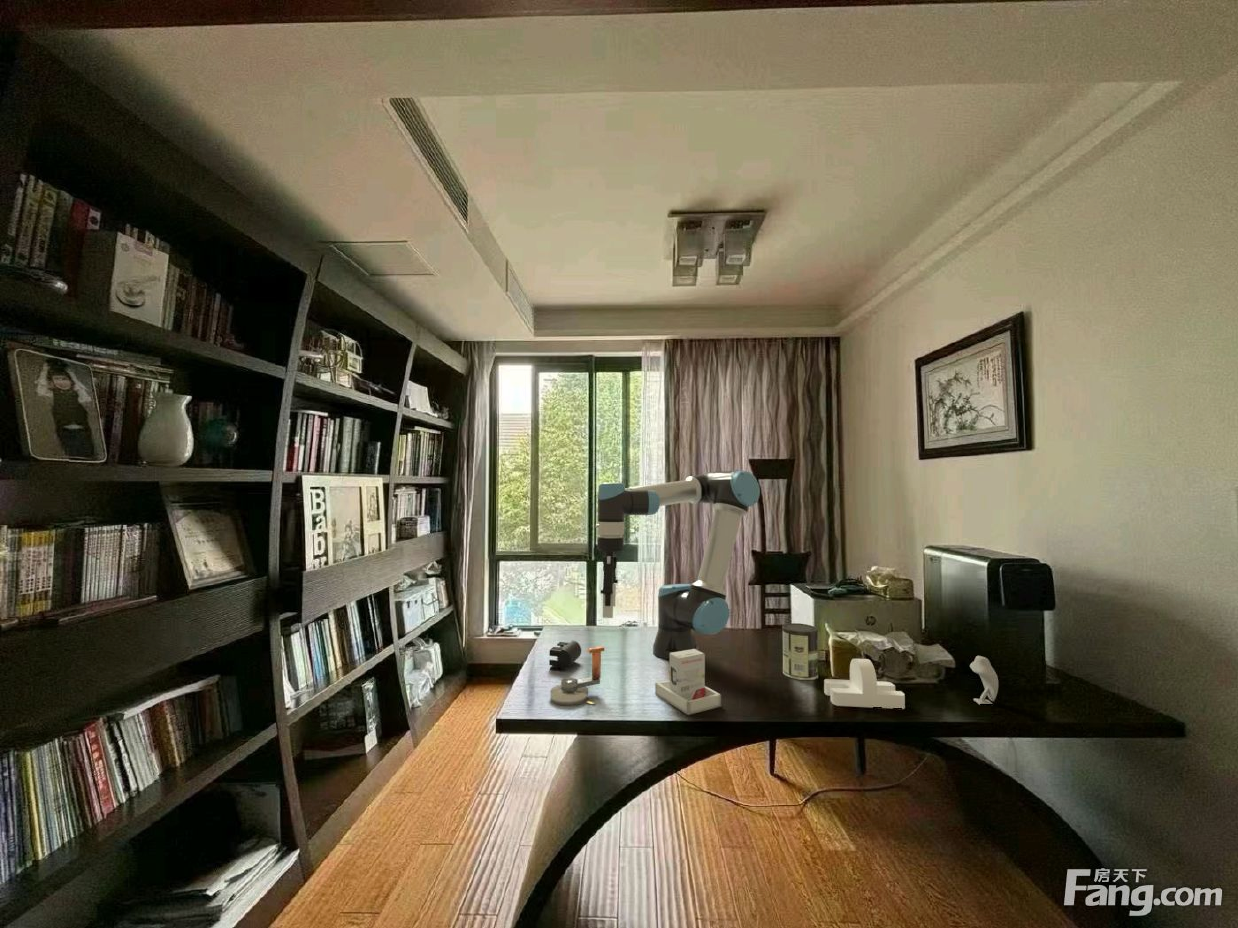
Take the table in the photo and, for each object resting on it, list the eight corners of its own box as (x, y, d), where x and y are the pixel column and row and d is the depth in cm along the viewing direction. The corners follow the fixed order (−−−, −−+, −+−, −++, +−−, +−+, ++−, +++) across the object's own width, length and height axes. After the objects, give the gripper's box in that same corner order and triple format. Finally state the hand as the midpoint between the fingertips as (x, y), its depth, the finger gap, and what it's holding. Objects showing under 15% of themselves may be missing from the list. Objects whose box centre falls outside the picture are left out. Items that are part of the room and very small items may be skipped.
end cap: (570, 673, 155) (570, 650, 156) (548, 670, 157) (548, 648, 158) (581, 662, 165) (581, 640, 165) (560, 660, 167) (561, 638, 167)
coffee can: (809, 667, 161) (808, 622, 162) (824, 680, 151) (824, 631, 152) (777, 668, 161) (777, 622, 161) (790, 680, 151) (790, 632, 151)
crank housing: (578, 688, 143) (578, 680, 144) (598, 704, 133) (598, 696, 133) (544, 694, 139) (544, 687, 139) (562, 712, 128) (562, 704, 128)
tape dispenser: (906, 709, 132) (905, 667, 132) (834, 706, 134) (833, 664, 134) (890, 695, 141) (890, 655, 142) (823, 691, 143) (822, 652, 144)
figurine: (1004, 709, 132) (1003, 662, 133) (981, 707, 133) (980, 660, 134) (988, 697, 140) (987, 652, 140) (966, 696, 140) (965, 651, 141)
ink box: (694, 691, 140) (694, 647, 141) (706, 698, 136) (706, 653, 136) (667, 697, 136) (668, 652, 137) (678, 704, 132) (678, 657, 132)
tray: (686, 686, 145) (686, 676, 145) (721, 706, 132) (721, 694, 133) (655, 694, 140) (655, 682, 140) (688, 714, 127) (688, 702, 127)
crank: (565, 692, 134) (565, 655, 134) (558, 687, 138) (559, 651, 138) (607, 684, 140) (607, 648, 140) (599, 678, 144) (599, 644, 144)
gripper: (600, 532, 159) (599, 601, 158) (593, 540, 135) (591, 622, 134) (625, 532, 159) (624, 602, 158) (621, 541, 134) (620, 623, 133)
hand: (609, 611), depth 146 cm, fingers open, 13 cm apart
